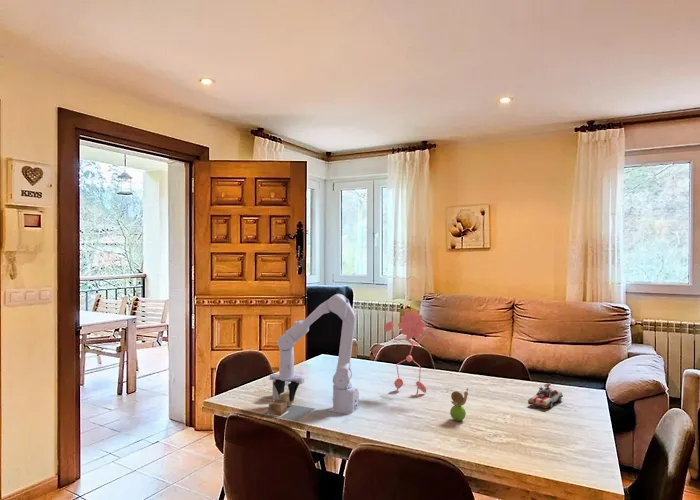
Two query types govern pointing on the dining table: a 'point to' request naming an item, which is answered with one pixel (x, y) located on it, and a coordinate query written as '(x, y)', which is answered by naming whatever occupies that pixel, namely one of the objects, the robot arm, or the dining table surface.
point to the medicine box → (275, 393)
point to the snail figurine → (458, 405)
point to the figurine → (410, 328)
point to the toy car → (546, 397)
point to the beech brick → (286, 398)
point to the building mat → (293, 412)
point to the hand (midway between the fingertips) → (286, 400)
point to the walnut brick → (278, 407)
